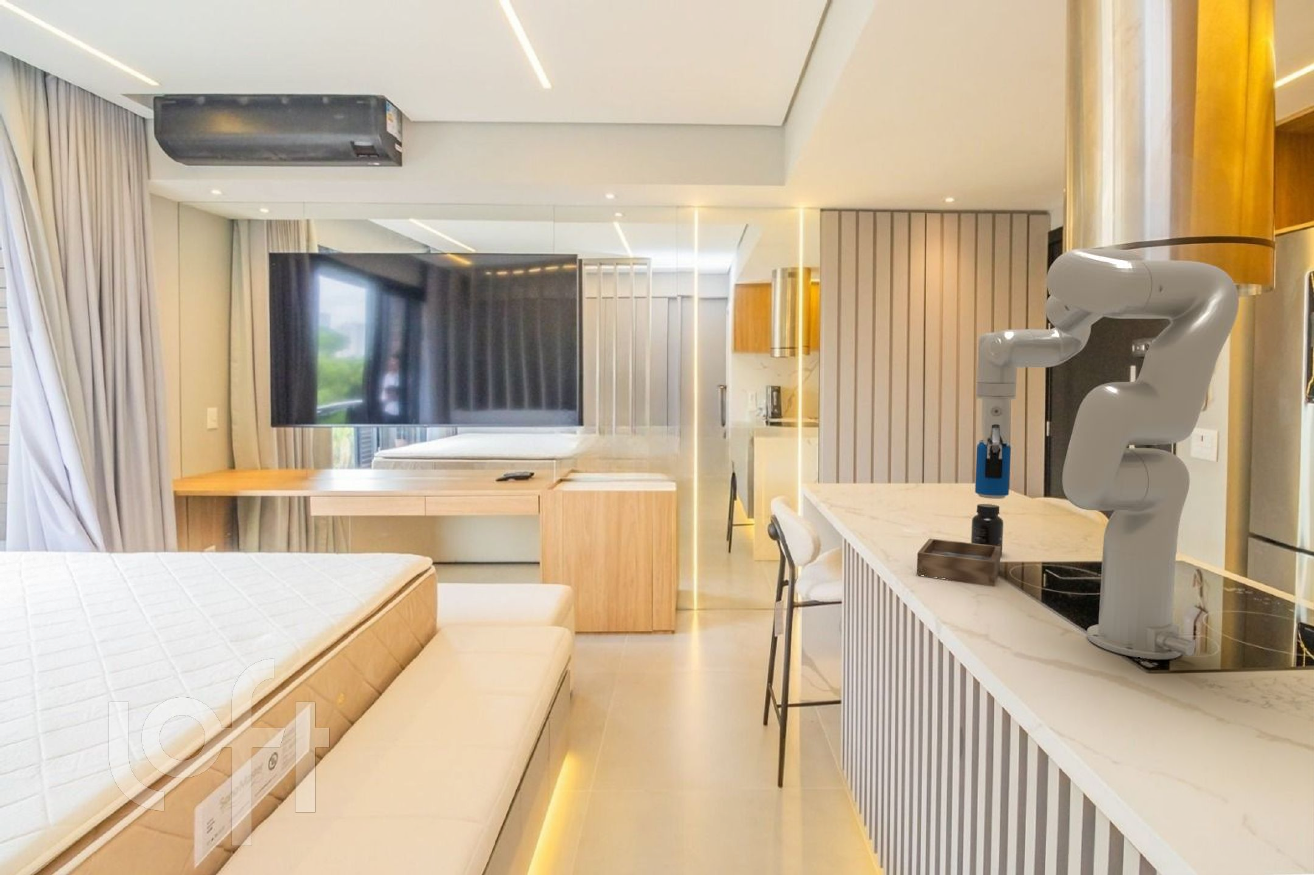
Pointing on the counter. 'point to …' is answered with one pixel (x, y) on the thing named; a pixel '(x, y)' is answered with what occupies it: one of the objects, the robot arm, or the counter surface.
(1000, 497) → the beverage can
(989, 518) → the supplement bottle
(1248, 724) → the counter surface
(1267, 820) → the counter surface
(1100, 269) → the robot arm
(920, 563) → the bore box
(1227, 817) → the counter surface
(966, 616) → the counter surface
